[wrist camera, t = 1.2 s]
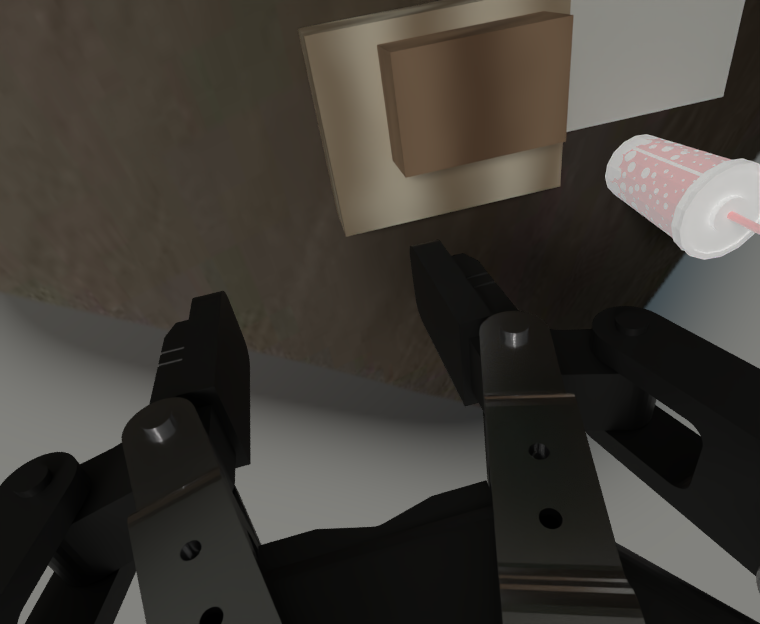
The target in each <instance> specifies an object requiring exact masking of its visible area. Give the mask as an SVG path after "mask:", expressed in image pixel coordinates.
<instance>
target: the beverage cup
mask: <svg viewBox="0 0 760 624" xmlns="http://www.w3.org/2000/svg"><path fill="white" fill-rule="evenodd" d="M605 178H606V183H607V187H608V188H609V189H610V190H611V191H612V192H613V194H615V195H616V196H617V197H619V198H620V199H621V200H623V201H624V202H625V203H627V204H628V205H629V206H631V207H632V208H633V209H635V210H636V211H637V212H639V213H640V214H641V215H643V216H644V217H645V218H647V219H648V220H649V221H651V222H652V223H653V224H655V225H656V226H657V227H659V228H660V229H661V230H663V231H664V232H665V233H667V234H668V235H669V236H671V237H672V238H673V241H674V242H675V243H676V244H677V245H678V246H679V247H680V249H681V250H683V251H685V252H686V253H687V254H688V255H689V256H692V257H695V258H699V259H703V260H706V259H711V258H716V257H721V256H723V255H725V254H727V253H729V252H731V251H733V250H735V249H737V248H738V247H740V246H741V245H742V244H743V243H744V242H746V241H747V240H748V239H749V238H750V237H751V236H752V235H753V234H755V233H757V234H759V235H760V164H758V163H755V162H753V161H749V160H746V159H743V158H742V159H735V160H730V159H727V158H724V157H720V156H717V155H714V154H711V153H707V152H704V151H701V150H697V149H694V148H691V147H687V146H684V145H681V144H677V143H674V142H671V141H667V140H664V139H661V138H657V137H654V136H651V135H647V134H645V135H639V136H634V137H633V138H631V139H629V140H627V141H625V142H624V143H623V144H622V145H621V146H620V147H619V148H618V149H617V150H616V151H615V152H614V153H613V155H612V157H611V159H610V161H609V163H608V164H607V170H606V175H605Z"/></svg>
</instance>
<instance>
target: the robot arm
mask: <svg viewBox="0 0 760 624" xmlns="http://www.w3.org/2000/svg"><path fill="white" fill-rule="evenodd" d="M410 259H411V267H412V274H413V282H414V290H415V297H416V303H417V307H418V311H419V314H420V317H421V319H422V322H423V324H424V326H425V328H426V330H427V332H428V334H429V336H430V338H431V340H432V342H433V344H434V346H435V348H436V350H437V352H438V354H439V356H440V358H441V360H442V362H443V364H444V366H445V368H446V370H447V372H448V374H449V376H450V378H451V380H452V382H453V384H454V386H455V388H456V390H457V392H458V394H459V396H460V398H461V400H462V402H463V404H464V406H468V405H472V404H475V403H479V404H480V406H481V408H482V410H483V421H484V436H485V452H486V466H487V479H488V483H487V481H483V482H479V483H476V484H472V485H469V486H465V487H462V488H458V489H455V490H451V491H448V492H444V493H441V494H438V495H434V496H431V497H429V498H428V499H426V500H424V501H422V502H421V503H419V504H417V505H415V506H414V507H412V508H410V509H408V510H406V511H405V512H403V513H401V514H399V515H398V516H396V517H394V518H392V519H391V520H389V521H387V522H386V523H384V524H382V525H379V526H376V527H359V528H336V529H315V530H312V531H308V532H305V533H301V534H298V535H295V536H291V537H288V538H284V539H281V540H277V541H274V542H270V543H267V544H263V545H261V543H260V541H259V538H258V536H257V534H256V531H255V529H254V527H253V525H252V522H251V520H250V518H249V515H248V513H247V511H246V508H245V506H244V504H243V502H242V499H241V497H240V495H239V492H238V490H237V488H236V486H235V485H234V484H235V468H238V467H241V466H245V465H249V464H250V362H249V355H248V350H247V346H246V343H245V340H244V337H243V335H242V332H241V330H240V327H239V325H238V322H237V320H236V317H235V314H234V312H233V309H232V307H231V304H230V302H229V299H228V297H227V295H226V293H225V292H224V291H220V292H216V293H212V294H208V295H204V296H200V297H195V298H193V299H192V303H191V309H190V315H189V320H186V321H182V322H177V323H176V324H175V325H174V326H173V327H172V329H171V330H170V331H169V333H168V334H167V335H166V337H165V338H164V342H163V346H162V351H161V353H162V355H161V356H160V360H159V367H158V369H157V373H156V377H155V382H154V386H153V391H152V395H151V400H150V404H149V405H148V406H146V407H144V408H143V409H141V410H140V411H139V412H138V413H136V414H135V415H134V416H133V417H132V418H131V419H130V420H129V422H128V423H127V424H126V426H125V428H124V430H123V432H122V443H120V444H119V445H117V446H115V447H114V448H112V449H110V450H108V451H106V452H104V453H102V454H100V455H98V456H96V457H94V458H92V459H90V460H88V461H86V462H84V463H82V464H79V463H78V462H77V460H76V459H75V458H74V457H73V456H72V455H70V454H69V453H65V452H54V453H49V454H45V455H42V456H40V457H37V458H35V459H33V460H31V461H29V462H27V463H26V464H24V465H22V466H21V467H20V468H18V469H17V470H15V471H14V472H13V473H12V474H11V475H10V476H9V477H7V478H6V479H5V481H4V482H3V483H2V484H1V486H0V624H17V622H18V619H19V616H20V613H21V611H22V609H23V607H24V605H25V604H26V602H27V600H28V598H29V597H30V595H31V593H32V591H33V590H34V588H35V586H36V585H37V583H38V581H39V580H40V577H41V576H42V574H43V573H44V571H45V569H46V567H47V566H49V567H50V568H52V570H53V571H54V573H53V575H52V576H51V578H50V580H49V582H48V583H47V585H46V587H45V589H44V590H43V592H42V594H41V596H40V598H39V599H38V601H37V603H36V605H35V606H34V608H33V610H32V612H31V614H30V615H29V617H28V619H27V621H26V623H25V624H113V623H114V621H115V618H116V616H117V614H118V611H119V609H120V607H121V604H122V602H123V600H124V598H125V595H126V593H127V591H128V588H129V586H130V584H131V581H132V579H133V577H134V575H135V572H137V577H138V582H139V587H140V593H141V598H142V603H143V608H144V614H145V619H146V624H760V623H758V622H757V621H755V620H753V619H751V618H749V617H748V616H746V615H744V614H742V613H741V612H739V611H737V610H735V609H733V608H732V607H730V606H728V605H726V604H724V603H723V602H721V601H719V600H717V599H716V598H714V597H712V596H710V595H708V594H707V593H705V592H703V591H701V590H699V589H698V588H696V587H694V586H692V585H691V584H689V583H687V582H685V581H684V580H682V579H680V578H678V577H676V576H675V575H673V574H671V573H669V572H667V571H666V570H664V569H662V568H660V567H659V566H657V565H655V564H653V563H651V562H650V561H648V560H646V559H644V558H643V557H641V556H639V555H637V554H635V553H634V552H632V551H630V550H628V549H627V548H625V547H623V546H621V545H619V544H617V543H616V542H615V539H614V535H613V532H612V528H611V524H610V520H609V517H608V513H607V509H606V506H605V502H604V498H603V495H602V491H601V487H600V484H599V480H598V476H597V473H596V469H595V465H594V462H593V458H592V455H591V451H590V447H589V443H588V440H587V436H586V433H587V434H588V435H589V436H590V437H591V438H592V439H593V440H595V441H596V442H597V443H598V444H599V445H601V446H602V447H603V448H604V449H605V450H606V451H608V452H609V453H610V454H611V455H613V456H614V457H615V458H616V459H617V460H618V461H620V462H621V463H622V464H623V465H624V466H626V467H627V468H628V469H629V470H630V471H632V472H633V473H634V474H635V475H636V476H637V477H639V478H640V479H641V480H642V481H643V482H645V483H646V484H647V485H648V486H649V487H651V488H652V489H653V490H654V491H655V492H656V493H658V494H659V495H660V496H661V497H662V498H664V499H665V500H666V501H667V502H668V503H669V504H671V505H672V506H673V507H674V508H675V509H677V510H678V511H679V512H680V513H681V514H683V515H684V516H685V517H686V518H687V519H688V520H690V521H691V522H692V523H693V524H695V525H696V526H697V527H698V528H699V529H701V530H702V531H703V532H704V533H705V534H706V535H707V536H709V537H710V538H711V539H712V540H713V541H715V542H716V543H717V544H718V545H719V546H721V547H722V548H723V549H724V550H725V551H726V552H728V553H729V554H730V555H731V556H732V557H734V558H735V559H736V560H737V561H739V562H740V563H741V564H742V565H743V566H744V567H745V568H747V569H748V570H749V571H750V572H751V573H753V574H754V575H755V576H756V580H757V586H758V590H759V593H760V369H759V368H757V367H755V366H753V365H751V364H750V363H748V362H746V361H744V360H742V359H740V358H738V357H737V356H735V355H733V354H731V353H729V352H727V351H725V350H723V349H722V348H720V347H718V346H716V345H714V344H712V343H710V342H708V341H707V340H705V339H703V338H701V337H699V336H697V335H695V334H693V333H692V332H690V331H688V330H686V329H684V328H682V327H680V326H678V325H676V324H675V323H673V322H671V321H669V320H667V319H665V318H664V317H662V316H660V315H658V314H656V313H654V312H652V311H649V310H646V309H643V308H638V307H631V306H619V307H612V308H609V309H606V310H603V311H602V312H600V313H598V314H597V315H596V316H595V318H594V319H593V323H592V329H586V330H553V329H549V326H548V325H547V323H546V322H545V321H544V320H543V319H541V318H540V317H538V316H536V315H534V314H531V313H528V312H523V311H518V310H517V309H516V307H515V306H514V305H513V304H512V302H511V301H510V300H509V299H508V297H507V296H506V295H505V294H504V292H503V291H502V290H501V289H500V287H499V286H498V285H497V284H496V283H494V280H493V279H492V277H491V276H490V275H489V274H487V271H486V270H485V269H484V267H483V266H482V265H481V264H480V262H479V261H478V260H476V259H474V258H472V257H470V256H468V255H466V254H463V253H462V254H458V255H454V256H451V255H450V254H449V253H448V251H447V250H446V248H445V247H444V246H443V244H442V243H441V241H440V240H434V241H430V242H426V243H422V244H417V245H413V246H410ZM656 399H657V400H659V401H660V402H662V403H663V404H665V405H666V406H668V407H669V408H670V409H672V410H673V411H675V412H676V413H678V414H679V415H681V416H682V417H684V418H685V419H687V420H688V421H689V422H690V423H692V424H693V425H694V427H695V428H696V429H697V430H698V432H699V433H700V435H701V436H699V435H698V434H696V433H695V432H694V431H692V430H691V429H689V428H688V427H686V426H685V425H683V424H682V423H680V422H679V421H678V420H676V419H674V418H673V417H672V416H670V415H669V414H668V413H666V412H665V411H663V410H662V409H660V408H659V407H657V406H656V405H655V402H656ZM585 431H586V433H585Z"/></svg>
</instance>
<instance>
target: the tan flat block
mask: <svg viewBox="0 0 760 624" xmlns="http://www.w3.org/2000/svg"><path fill="white" fill-rule="evenodd" d="M570 7H571V0H441V1H435V2H430V3H425V4H420V5H415V6H410V7H405V8H400V9H395V10H390V11H385V12H380V13H374V14H369V15H364V16H359V17H354V18H349V19H344V20H339V21H334V22H329V23H324V24H319V25H313V26H308V27H303V28H298V33H299V37H300V42H301V47H302V51H303V56H304V61H305V65H306V70H307V75H308V79H309V84H310V89H311V93H312V98H313V103H314V107H315V112H316V116H317V121H318V126H319V130H320V135H321V140H322V144H323V149H324V154H325V158H326V163H327V168H328V172H329V177H330V182H331V186H332V191H333V196H334V200H335V205H336V209H337V213H338V216H339V218H340V221H341V224H342V227H343V229H344V232H345V235H346V237H347V236H351V235H355V234H360V233H364V232H368V231H372V230H377V229H381V228H385V227H389V226H394V225H398V224H402V223H406V222H411V221H415V220H419V219H423V218H427V217H432V216H436V215H440V214H444V213H449V212H453V211H457V210H461V209H466V208H470V207H474V206H478V205H483V204H487V203H491V202H495V201H500V200H504V199H508V198H512V197H517V196H521V195H525V194H529V193H534V192H538V191H542V190H546V189H551V188H555V187H559V186H560V179H561V162H562V145H563V142H561V143H557V144H552V145H548V146H544V147H539V148H535V149H531V150H526V151H522V152H517V153H513V154H509V155H504V156H500V157H495V158H491V159H487V160H482V161H478V162H473V163H469V164H465V165H460V166H456V167H451V168H447V169H443V170H438V171H434V172H429V173H425V174H421V175H416V176H412V177H407V178H405V176H404V175H403V174H402V172H401V171H400V170H399V168H398V167H397V166H396V164H395V163H394V162H393V160H392V153H391V145H390V138H389V131H388V124H387V116H386V109H385V102H384V95H383V87H382V80H381V73H380V66H379V58H378V51H377V45H378V44H383V43H388V42H393V41H398V40H403V39H408V38H413V37H418V36H423V35H428V34H432V33H437V32H442V31H447V30H452V29H457V28H462V27H467V26H472V25H477V24H482V23H487V22H492V21H497V20H502V19H507V18H512V17H516V16H521V15H526V14H531V13H536V12H541V11H548V12H555V13H562V14H570Z"/></svg>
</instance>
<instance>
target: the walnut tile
mask: <svg viewBox="0 0 760 624" xmlns="http://www.w3.org/2000/svg"><path fill="white" fill-rule="evenodd" d="M573 17H574V15H570V14H562V13H555V12H548V11H541V12H536V13H531V14H526V15H521V16H516V17H512V18H507V19H502V20H497V21H492V22H487V23H482V24H477V25H472V26H467V27H462V28H457V29H452V30H447V31H442V32H437V33H432V34H428V35H423V36H418V37H413V38H408V39H403V40H398V41H393V42H388V43H383V44H378V45H377V51H378V58H379V66H380V73H381V80H382V87H383V95H384V102H385V109H386V116H387V124H388V131H389V138H390V145H391V153H392V160H393V162H394V163H395V164H396V166H397V167H398V168H399V170H400V171H401V172H402V174H403V175H404V176H405V178H407V177H412V176H416V175H421V174H425V173H429V172H434V171H438V170H443V169H447V168H451V167H456V166H460V165H465V164H469V163H473V162H478V161H482V160H487V159H491V158H495V157H500V156H504V155H509V154H513V153H517V152H522V151H526V150H531V149H535V148H539V147H544V146H548V145H552V144H557V143H561V142H566V131H567V114H568V98H569V82H570V66H571V50H572V34H573Z"/></svg>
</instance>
